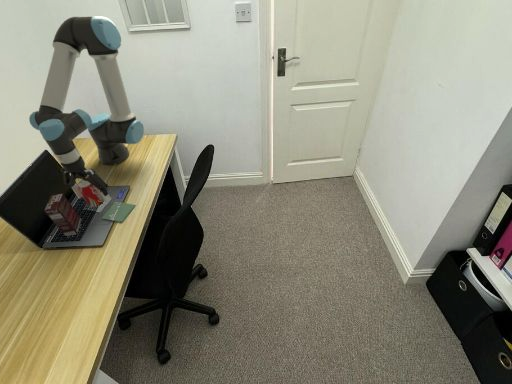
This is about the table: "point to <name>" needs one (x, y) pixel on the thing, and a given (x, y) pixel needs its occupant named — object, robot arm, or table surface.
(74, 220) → the supplement box
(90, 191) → the soda can
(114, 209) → the coaster
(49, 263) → the table surface
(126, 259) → the table surface
